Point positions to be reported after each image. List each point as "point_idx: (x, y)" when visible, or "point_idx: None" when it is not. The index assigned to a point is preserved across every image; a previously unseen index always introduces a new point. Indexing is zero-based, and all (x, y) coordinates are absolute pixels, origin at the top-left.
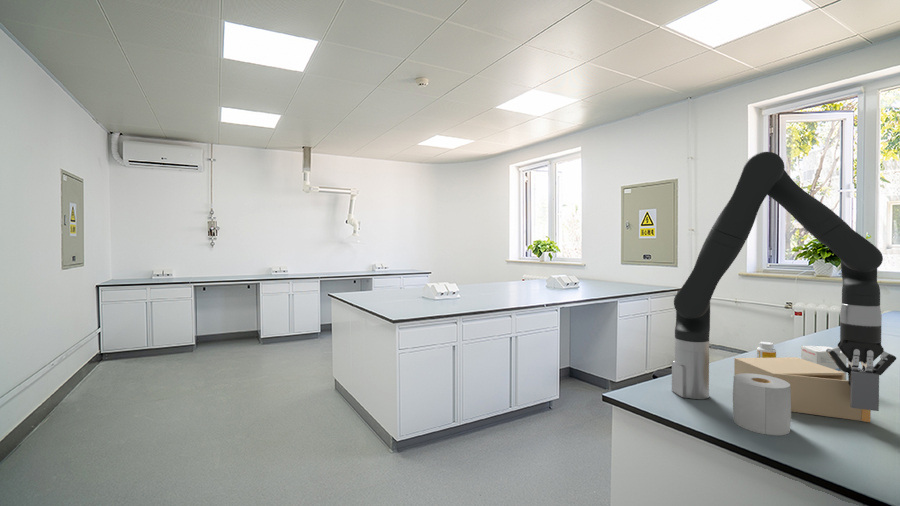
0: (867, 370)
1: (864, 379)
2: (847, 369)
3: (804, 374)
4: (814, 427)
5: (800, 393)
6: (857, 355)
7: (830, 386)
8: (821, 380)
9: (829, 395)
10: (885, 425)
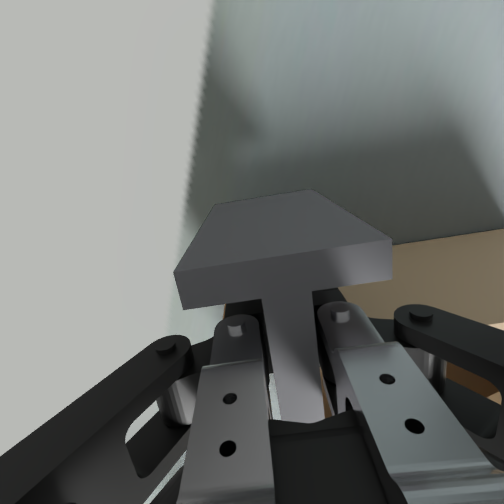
0: (250, 345)
1: (282, 237)
2: (407, 319)
3: (500, 398)
4: (424, 98)
5: (486, 267)
6: (434, 481)
7: (392, 310)
8: None
9: (374, 288)
10: None
